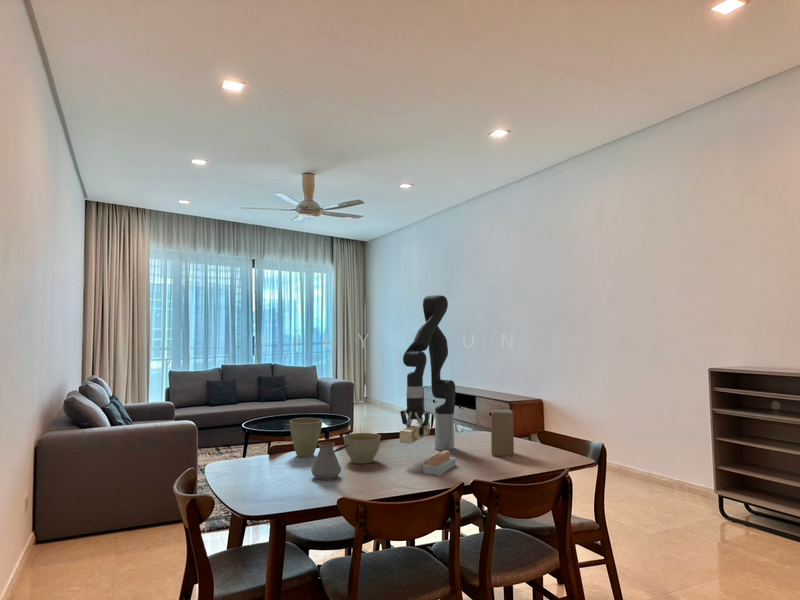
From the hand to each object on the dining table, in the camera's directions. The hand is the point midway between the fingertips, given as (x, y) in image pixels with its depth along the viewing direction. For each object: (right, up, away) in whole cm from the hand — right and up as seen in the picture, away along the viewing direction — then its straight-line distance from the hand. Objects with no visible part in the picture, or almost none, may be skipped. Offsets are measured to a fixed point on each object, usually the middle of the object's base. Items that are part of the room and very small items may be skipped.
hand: (415, 434), depth 224 cm
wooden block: (+41, -12, +12) cm, 44 cm away
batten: (0, -1, 0) cm, 1 cm away
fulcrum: (+10, -10, -15) cm, 21 cm away
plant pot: (-50, -12, +7) cm, 52 cm away
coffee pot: (-32, -9, -32) cm, 46 cm away
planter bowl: (-23, -11, -3) cm, 26 cm away
